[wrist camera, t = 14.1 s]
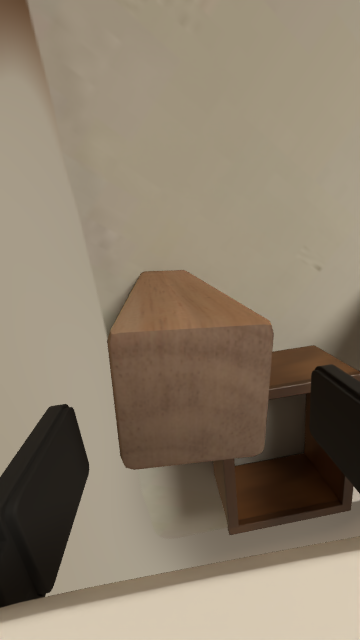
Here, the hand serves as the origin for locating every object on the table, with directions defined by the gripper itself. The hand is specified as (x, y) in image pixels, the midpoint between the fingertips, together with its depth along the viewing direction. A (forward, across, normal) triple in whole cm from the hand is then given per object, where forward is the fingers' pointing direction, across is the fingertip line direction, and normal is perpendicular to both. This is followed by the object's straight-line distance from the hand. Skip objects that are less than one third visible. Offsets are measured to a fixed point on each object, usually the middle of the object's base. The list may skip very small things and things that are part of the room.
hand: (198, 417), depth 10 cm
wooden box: (+16, -9, +14) cm, 23 cm away
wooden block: (+16, +1, 0) cm, 16 cm away
